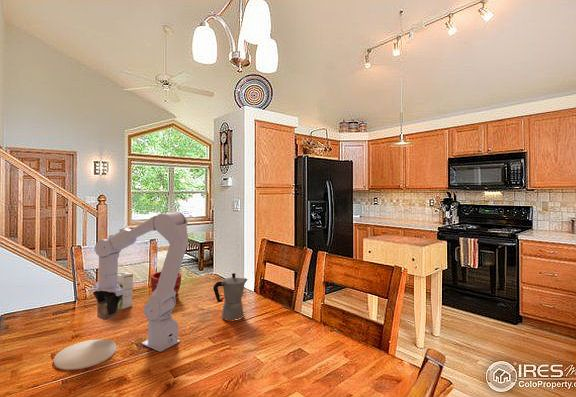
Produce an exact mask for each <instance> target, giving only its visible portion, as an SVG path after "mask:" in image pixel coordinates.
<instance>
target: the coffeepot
mask: <svg viewBox="0 0 576 397" xmlns="http://www.w3.org/2000/svg"><path fill="white" fill-rule="evenodd" d="M236 275H237V274H236V273H234V272H233V273H231V276H232V277H227V278H224V279H222V280H221V281H217V282H216V283H214V285H213V292H214V294H215V298H216V301H217V303H222V302H224V303H223V306H222V310H221V311H222V312H221V319H222V320H223V319H227V320H235V319H239V318H241V317H242V316H244V315H245V314H244V309H243V302H242V297H243V296H244V290H245V284H246V283H247V281H248V280H249V279H248V278H244V277H236ZM219 287H223V297H224V301H223V299H222V298H220V297H221V296H220V293H219V292H220V291H219V289H218V288H219ZM244 317H245V316H244Z"/></svg>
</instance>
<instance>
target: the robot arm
mask: <svg viewBox="0 0 576 397" xmlns="http://www.w3.org/2000/svg"><path fill="white" fill-rule="evenodd" d="M188 222H189V221H188V219H187V218H186V216H185V215H184V214H183V213H182V212H180V211H173V212H167V213H158V214H156V215H154V216H152V217H150V218H148V219H146V221H144V222H141V223H140V224H138V225H137V226H135V227H134V228H132V229H131V228H127V227H126V228H120V229H119V231H118V232H117V233H115V234H110V235H108V238H103V239H99V240H98V241H97V242H96V243H95V244H94V252H95V254H96V255H97V256H98V281H96V282H93V289H94V290H93V293H92V294H93V296H94V297H95V299H96V301H97V303H99V302H103V301H106V302H107V308H108V314H109V315H111V314H114V313H116V310H117V306H118V303H119V301H120V299H121V297H122V296H123V289H122V288H120V286H119V285H118V273H119V271H118V270H119V268H118V267H119V265H118V264H119V261H118V259H119V258H120V252H122V250H125V249H126V248H128V247H129V246H132V245H134V244H135V243H137V238H139V237H141V236H144V235H145V234H147V233H150V232H153V231H154V232H155V231H157V232H158V233H159V234H160V235H161V236H162V237H163V238H164V239H165V240H166V242H168V243H169V244H168V245H169V246H168V248H167V252H166V255H165V259H164V261H163V262H164V263H163V265H162V269H161V271H160V272H161V275H160V278H159V281H158V284H156V285H157V288H156V289H155V291H154V292H152V293H151V294H150V296H149V299H148V300H147V302H146V303H145V304H144V306H143V309H142V310H143V314H144V316H145V318H147V319H146V320H147V339H146V340H144V341H143V342H141V345H142V346H145V347H148V348H151V349H153V350H154V351H158V352H160V353H161V352H163V351H165V350H167V349H168V348H170V347H174V346H175V345H177V344H179V343H180V341H181V340H180V339H179V323H178V321H176V320H175V319H174V318H173V316H172V313H173V309H174V308H175V306H176V303H177V301H176V300H177V299H176V300H175V295H176V292H175V291H174V290H173V289H174V286H175V283H176V280H177V277H178V273H180V271H181V270H180V269H181V266H182V263H183V260H184V257H185V253H186V250H187V248H188V244H189V235H188V228H187V226H188Z"/></svg>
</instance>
